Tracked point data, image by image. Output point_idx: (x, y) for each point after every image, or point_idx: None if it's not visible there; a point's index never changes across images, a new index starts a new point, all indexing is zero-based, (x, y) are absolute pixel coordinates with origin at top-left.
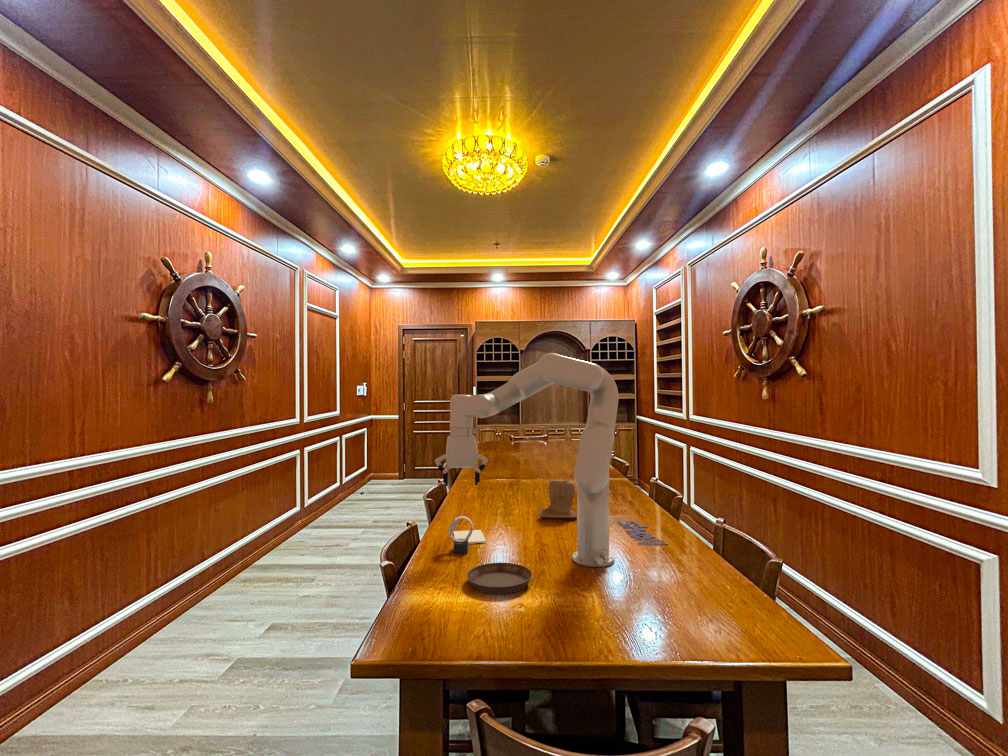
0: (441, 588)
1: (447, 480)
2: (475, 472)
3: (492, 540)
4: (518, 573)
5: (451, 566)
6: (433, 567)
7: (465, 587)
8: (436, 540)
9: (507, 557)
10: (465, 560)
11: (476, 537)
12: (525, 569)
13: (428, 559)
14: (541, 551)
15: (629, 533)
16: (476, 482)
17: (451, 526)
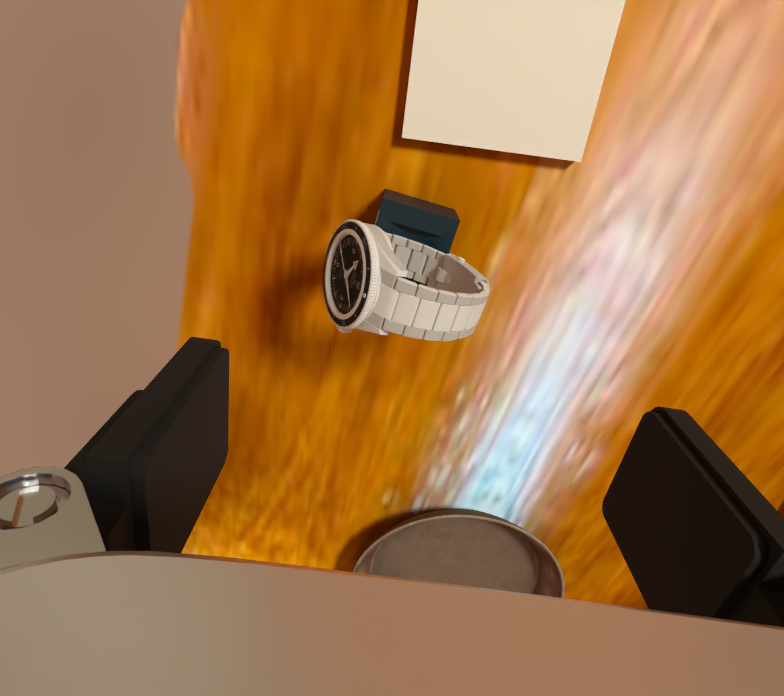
0: (273, 553)
1: (193, 513)
2: (741, 591)
3: (638, 114)
4: (535, 549)
5: (327, 411)
6: (255, 400)
7: (345, 565)
8: None
9: (582, 389)
10: (397, 368)
11: (554, 65)
12: (557, 576)
13: (236, 309)
14: (765, 367)
15: None
16: (625, 542)
17: (334, 321)
